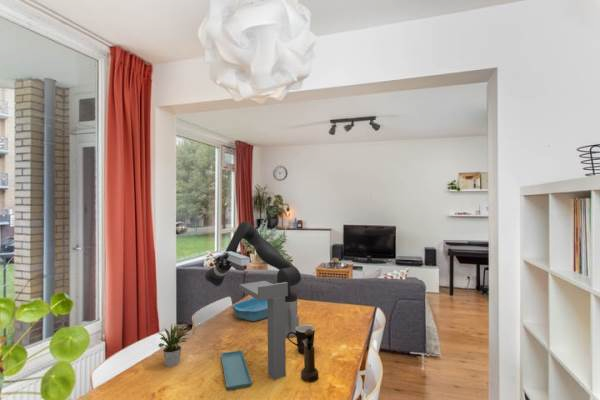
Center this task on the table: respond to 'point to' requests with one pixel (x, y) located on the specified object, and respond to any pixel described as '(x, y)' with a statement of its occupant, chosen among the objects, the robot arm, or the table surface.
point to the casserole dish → (251, 309)
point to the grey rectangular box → (237, 258)
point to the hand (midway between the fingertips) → (232, 254)
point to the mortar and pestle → (309, 360)
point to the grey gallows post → (272, 322)
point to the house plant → (172, 346)
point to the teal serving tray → (235, 370)
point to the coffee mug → (302, 337)
